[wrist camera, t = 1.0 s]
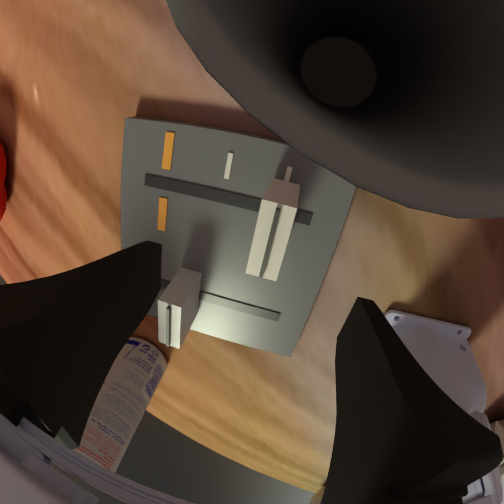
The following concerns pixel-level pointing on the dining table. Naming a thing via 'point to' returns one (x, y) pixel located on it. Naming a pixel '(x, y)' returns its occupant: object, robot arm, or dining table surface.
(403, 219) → the dining table surface
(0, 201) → the tomato
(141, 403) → the beverage can
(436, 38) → the cup
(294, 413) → the dining table surface
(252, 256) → the fader tab
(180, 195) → the console
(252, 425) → the dining table surface
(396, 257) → the dining table surface
